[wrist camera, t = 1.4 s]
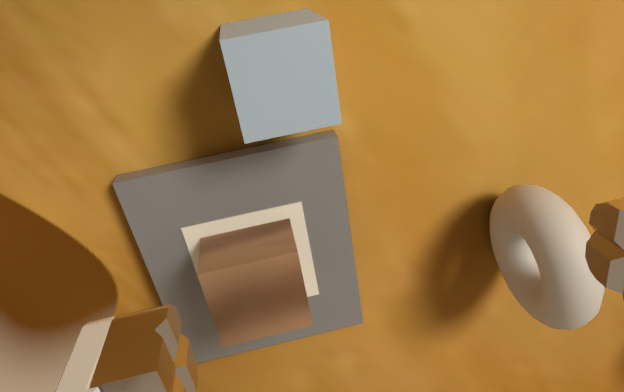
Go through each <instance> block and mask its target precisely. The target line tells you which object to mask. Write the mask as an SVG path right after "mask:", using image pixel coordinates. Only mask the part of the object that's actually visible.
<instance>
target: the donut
mask: <svg viewBox="0 0 624 392" xmlns="http://www.w3.org/2000/svg"><path fill="white" fill-rule="evenodd" d="M590 237H591V236H590V234H589V232H588V230H587V228H586V227H585V225H584V224H583V223H582V221H581V220H580V218H579V217H578V215H577V214H576V213H575V211H574V210H573V209H572V208H571V207H570V206H569V205H568V204H567V203H566V202H565V201H564V200H563V199H562V198H561V197H559V196H558V195H556V194H554V193H552V192H550V191H549V190H547V189H545V188H543V187H541V186H536V185H517V186H513V187H511V188H509V189H507V190H506V191H505V192H503V193H502V194H501V195H500V196H499V197H498V198H497V199H496V200H495V202H494V204H493V207H492V210H491V213H490V238H491V244H492V248H493V252H494V255H495V259H496V262H497V264H498V266H499V269H500V271H501V274H502V276H503V278H504V280H505V282H506V283H507V285H508V287H509V289H510V291H511V292H512V294H513V295H514V296H515V298H516V299H517V301H518V302H519V303H520V305H521V306H522V307H523V308H524V309H525V310H526V311H527V312H528V313H529V314H530V315H531V316H532V317H533V318H534V319H536V320H538V321H540V322H541V323H543V324H545V325H547V326H549V327H551V328H555V329H567V330H571V329H578V328H580V327H582V326H584V325H586V324H587V323H588V322H589V321H590V320H591V319H593V318H594V317H595V316H596V314H597V313H598V312H599V309H600V306H601V302H602V298H603V294H604V286H603V285H602V284H601V283H600V282H599V281H598V280H596V278H595V277H594V276H593V274H592V273H591V271H590V270H589V267H588V264H587V261H586V258H585V251H586V242H587V241H588V240H589V238H590Z"/></svg>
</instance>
